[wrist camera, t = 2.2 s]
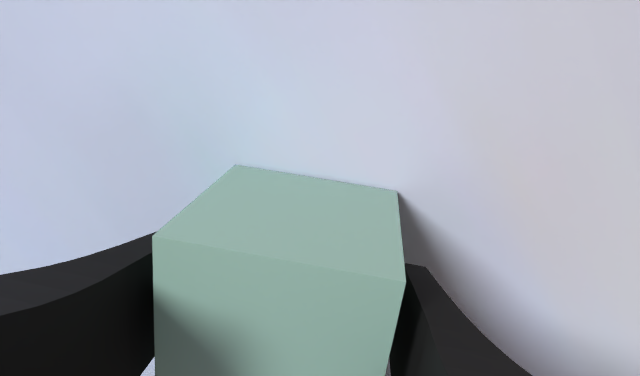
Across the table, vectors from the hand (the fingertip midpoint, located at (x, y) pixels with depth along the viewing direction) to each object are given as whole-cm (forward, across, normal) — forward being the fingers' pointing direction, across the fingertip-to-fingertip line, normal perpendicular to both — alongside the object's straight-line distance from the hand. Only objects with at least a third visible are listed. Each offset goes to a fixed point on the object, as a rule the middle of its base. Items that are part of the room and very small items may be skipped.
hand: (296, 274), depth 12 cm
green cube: (+2, 0, 0) cm, 2 cm away
